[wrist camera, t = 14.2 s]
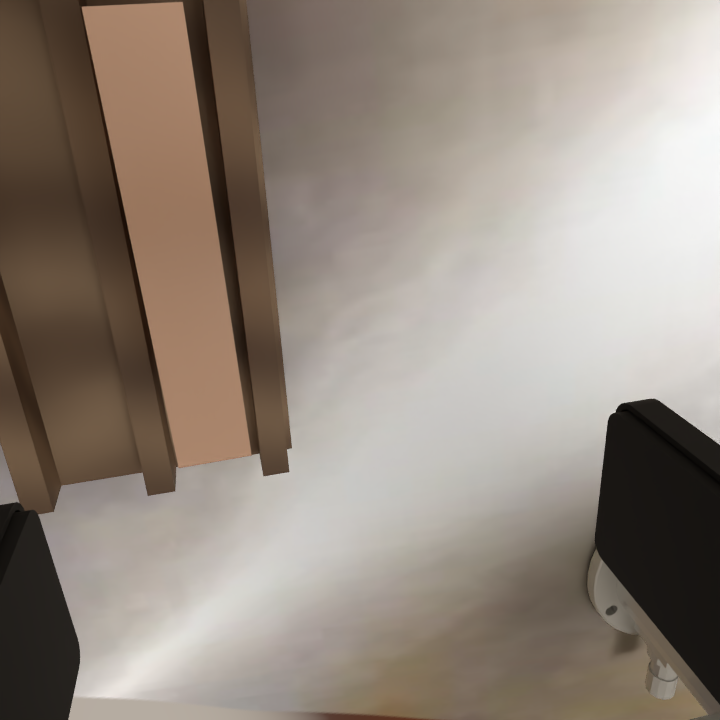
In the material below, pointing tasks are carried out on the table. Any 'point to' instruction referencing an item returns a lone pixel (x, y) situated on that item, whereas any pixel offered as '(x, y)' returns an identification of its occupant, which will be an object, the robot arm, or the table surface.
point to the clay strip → (171, 221)
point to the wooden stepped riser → (116, 257)
